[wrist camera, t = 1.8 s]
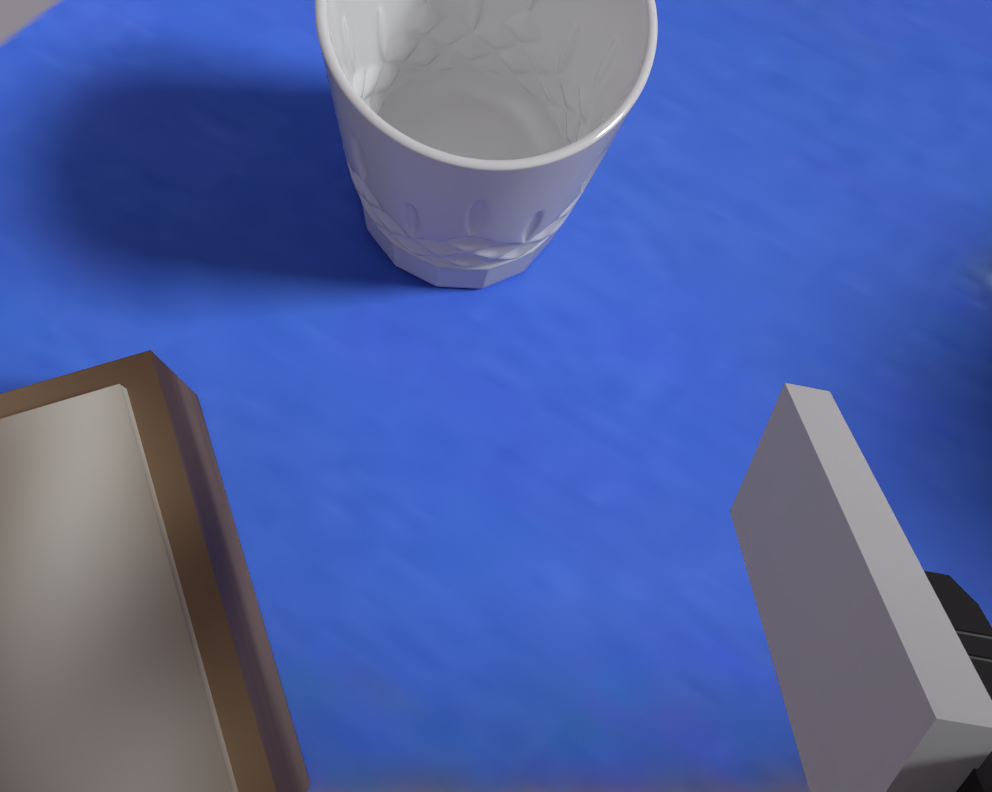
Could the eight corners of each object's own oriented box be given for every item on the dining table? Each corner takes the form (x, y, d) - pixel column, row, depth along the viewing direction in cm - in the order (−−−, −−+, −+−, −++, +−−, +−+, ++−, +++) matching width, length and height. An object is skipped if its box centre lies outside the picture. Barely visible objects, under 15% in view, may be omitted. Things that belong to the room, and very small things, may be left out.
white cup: (294, 168, 30) (243, -35, 20) (482, 49, 32) (518, -192, 22) (438, 354, 29) (456, 235, 19) (623, 221, 31) (725, 51, 21)
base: (197, 395, 28) (144, 343, 22) (310, 783, 26) (284, 838, 20) (-217, 520, 26) (-395, 499, 20) (-130, 950, 24) (-299, 1065, 18)
